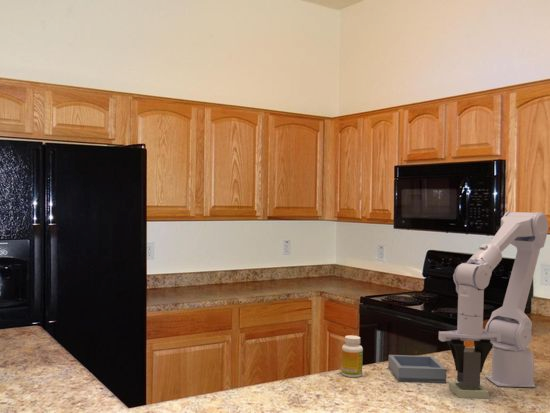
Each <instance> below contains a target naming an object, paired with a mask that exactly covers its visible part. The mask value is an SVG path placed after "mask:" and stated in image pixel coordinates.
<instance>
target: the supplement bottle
mask: <svg viewBox="0 0 550 413" xmlns="http://www.w3.org/2000/svg"><path fill="white" fill-rule="evenodd" d="M344 343H345V344H343V345H342V347H341V364H340V365H341V367H340V373H341V375H342V376H344V377H347V378H358V377H361V376H362V375H363V359H364V358H363V355H364V354H363V353H364V348H363V346H362V345H361V337H360V336H359V335H351V334H350V335H348V334H347V335H345V336H344Z"/></svg>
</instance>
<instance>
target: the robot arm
mask: <svg viewBox="0 0 550 413" xmlns="http://www.w3.org/2000/svg"><path fill="white" fill-rule="evenodd" d="M549 227H550V226H549V223H548V219H547V216H546V214H544V213H543V212H541V211H538V212H529V211H528V212H527V211H526V212H522V211H517V212H516V211H515V212H514V211H511V210H510V211H507V212H505V213H504V215H503V216H502V217H501V218H500V228H499V229H498V230H497V232H496V233H495V235H494V236H493V237H492V239H491V241H490V242H489V243H483V244H480V246H479V248H478V249H477V250H476V251H475V252H474V253H473V254H472V256H471V257H470V258H469V259H468V260H467V261H466V262H462V263H460V264H458V265H457V266H456V268H455V269H454V273H453V275H452V277H453V278H452V279H453V283H454V284H455V292H456V293H457V298H458V299H457V325H456V327H457V329H456V330H446V331H440V330H439V331H438V340H439V341H440V342H446V344H447V345H448V347H449V349H450V351H451V355H452V357H453V361H454V366H455V371H456V372H457V371H458V372H462V369H463V354H464V349H465V348H466V345H464V344H463V342H473V345H474V348H475V349H477V350H478V351H479V352H481V366H480V374H481V373H482V372H483V368H484V365H485V363H486V360H487V358H488V356H489V354H490V352H491V374H485V375H484V376H485V378H487V380H489V381H490V382H491V383H493V384H494V385H495V386H497V387H509V388H511V387H513V388H516V387H517V388H535V387H536V385H535V383H534V382H535V381H534V377H535V357H534V354H533V351H532V350H531V349H530V348H528V347H529V345H530V344H531V342H532V335H533V334H532V330H533V329H532V328H533V322H532V321H531V319H530V317H528V315H527V314H526V313H525V309H526V305H527V302H528V298H529V294H530V290H531V286H532V284H533V278H534V274H535V272H536V267H537V263H538V259H539V255H540V250H541V249H542V248H544V246H545V244H546V239H547V236H548V232H549ZM510 245H511V246H513V247H515V248H516V255H515V258H514V262H513V266H512V268H511V269H512V270H511V274H510V276H509V281H508V285H507V288H506V292H505V295H504V298H503V303H502V306H500V307H499V308H497V309H495V310H493V311H492V312H491V315H490V318H489V319H488V321H487V322H486V325H485V328H484V300H485V299H484V297H485V296H484V295H485V294H484V293H485V289H486V288H487V287H488V286H489V284H490V280H491V277H492V274H493V273H492V272H493V271H494V269H495V268H496V267H497V266H498V265H499V264H500V262H501V261H502V260H503V253H502V252H503V251H504V250H505V249H507V248H508V246H510Z"/></svg>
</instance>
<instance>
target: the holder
mask: <svg viewBox="0 0 550 413" xmlns="http://www.w3.org/2000/svg"><path fill="white" fill-rule="evenodd" d="M448 389H449V390H450V391H451V392H452V393H453V394H454V395H455V396H456V397H457V398H461V399H462V398H463V399H464V398H465V399H466V398H467V399H489V398H490V397H489V393H490V392H489V391H488V390H487V389H486V388H485V387H484V386H482V384H480V387H474V386H462V385H461V384H460V383H459V382H458V381H449V380H448Z"/></svg>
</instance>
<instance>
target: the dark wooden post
mask: <svg viewBox="0 0 550 413" xmlns="http://www.w3.org/2000/svg"><path fill="white" fill-rule="evenodd" d="M480 366H481V352H479V351H478V350H477V349H475V347H465V349H464V354H463V369H462V372H458V371H456V374H457V375H456V377H457V378H456V382H459V383H460V384H461V385H462V386H474V387H480V385H481V373H480Z"/></svg>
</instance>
